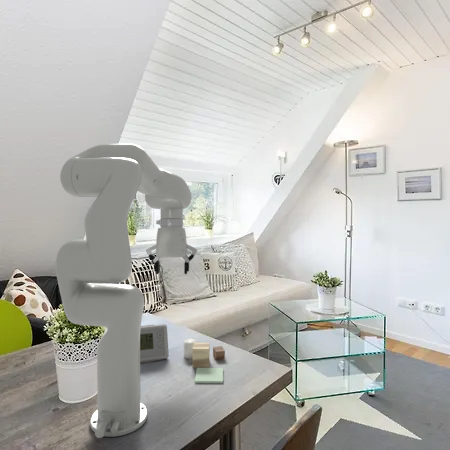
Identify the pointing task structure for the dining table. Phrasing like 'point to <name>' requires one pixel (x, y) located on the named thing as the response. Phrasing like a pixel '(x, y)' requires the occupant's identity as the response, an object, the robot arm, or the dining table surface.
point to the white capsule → (189, 348)
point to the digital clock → (153, 343)
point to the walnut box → (218, 353)
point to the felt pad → (209, 375)
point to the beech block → (201, 355)
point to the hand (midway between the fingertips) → (171, 273)
